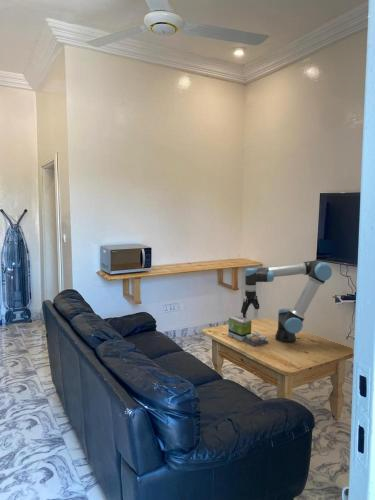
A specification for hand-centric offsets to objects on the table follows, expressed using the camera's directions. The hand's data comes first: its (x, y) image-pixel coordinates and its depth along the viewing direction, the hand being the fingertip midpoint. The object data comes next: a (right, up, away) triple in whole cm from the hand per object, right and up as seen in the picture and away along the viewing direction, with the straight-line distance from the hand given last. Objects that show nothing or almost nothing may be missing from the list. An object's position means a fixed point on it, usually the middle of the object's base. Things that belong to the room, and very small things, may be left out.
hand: (250, 320), depth 272 cm
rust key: (+4, -17, +5) cm, 18 cm away
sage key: (+1, -16, +10) cm, 19 cm away
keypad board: (+5, -18, +9) cm, 21 cm away
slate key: (+7, -16, +13) cm, 21 cm away
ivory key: (+9, -17, +8) cm, 21 cm away
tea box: (-5, -17, +19) cm, 26 cm away
